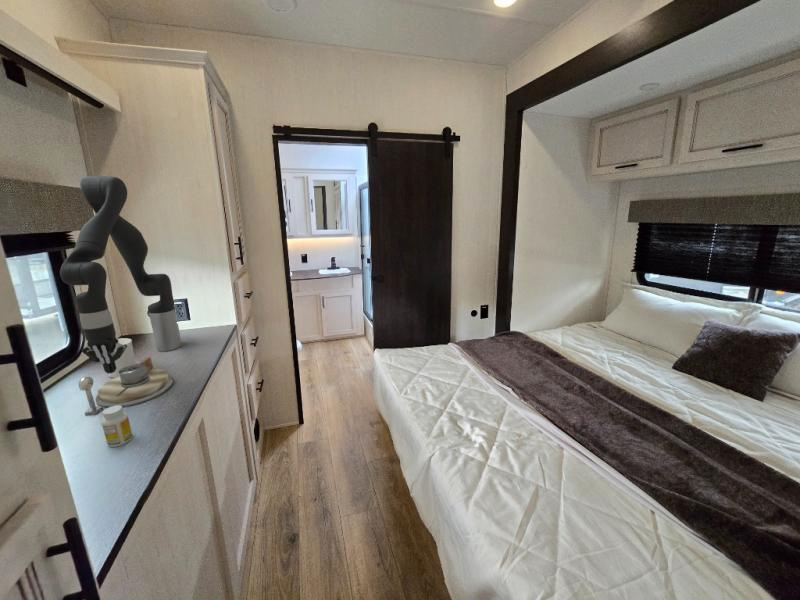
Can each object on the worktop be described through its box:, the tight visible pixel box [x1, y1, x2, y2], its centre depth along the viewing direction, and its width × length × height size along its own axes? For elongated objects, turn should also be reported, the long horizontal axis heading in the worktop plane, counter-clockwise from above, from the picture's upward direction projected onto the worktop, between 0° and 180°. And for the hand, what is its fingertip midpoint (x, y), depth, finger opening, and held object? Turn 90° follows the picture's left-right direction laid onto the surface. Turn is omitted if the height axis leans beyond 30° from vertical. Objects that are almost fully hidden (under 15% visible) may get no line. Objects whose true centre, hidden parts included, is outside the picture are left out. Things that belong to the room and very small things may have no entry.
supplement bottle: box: [101, 405, 133, 448], centre depth 91 cm, size 5×5×10 cm
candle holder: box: [107, 337, 136, 379], centre depth 128 cm, size 10×10×12 cm
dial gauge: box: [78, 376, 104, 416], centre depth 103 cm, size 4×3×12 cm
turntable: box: [97, 356, 169, 403], centre depth 116 cm, size 20×19×6 cm
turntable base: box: [95, 374, 174, 409], centre depth 117 cm, size 21×21×1 cm
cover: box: [119, 363, 150, 388], centre depth 115 cm, size 8×8×5 cm
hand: (111, 372), depth 114 cm, fingers closed
